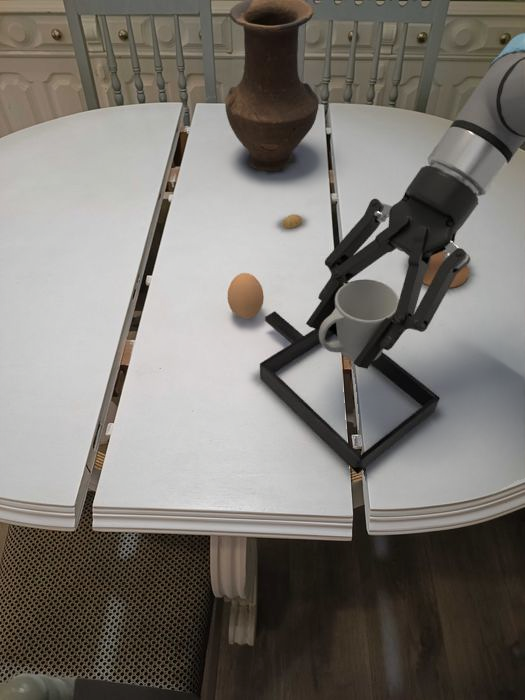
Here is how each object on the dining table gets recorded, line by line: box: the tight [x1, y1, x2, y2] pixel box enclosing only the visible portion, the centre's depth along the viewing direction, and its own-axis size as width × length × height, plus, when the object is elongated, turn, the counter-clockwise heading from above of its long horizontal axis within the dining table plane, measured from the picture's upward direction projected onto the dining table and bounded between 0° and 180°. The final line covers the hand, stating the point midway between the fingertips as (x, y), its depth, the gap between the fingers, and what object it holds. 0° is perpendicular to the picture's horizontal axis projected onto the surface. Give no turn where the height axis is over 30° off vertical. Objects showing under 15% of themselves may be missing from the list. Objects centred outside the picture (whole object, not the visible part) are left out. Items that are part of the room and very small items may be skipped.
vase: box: [225, 0, 320, 172], centre depth 108 cm, size 19×19×30 cm
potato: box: [282, 214, 303, 229], centre depth 103 cm, size 3×4×2 cm
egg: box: [227, 272, 265, 319], centre depth 85 cm, size 6×6×8 cm
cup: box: [319, 278, 399, 363], centre depth 66 cm, size 8×10×8 cm
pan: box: [259, 311, 441, 474], centre depth 77 cm, size 27×15×4 cm, turn 39°
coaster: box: [422, 250, 470, 290], centre depth 94 cm, size 10×10×1 cm
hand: (335, 345), depth 65 cm, fingers closed on cup, 8 cm apart
